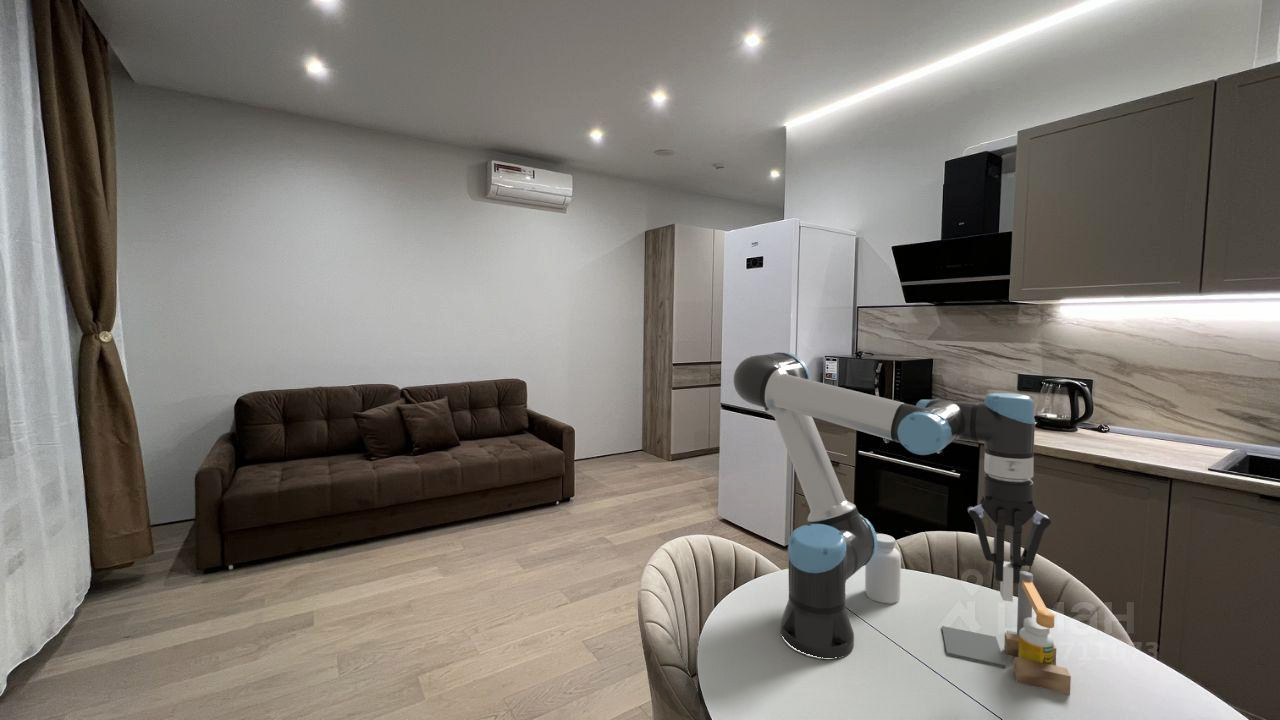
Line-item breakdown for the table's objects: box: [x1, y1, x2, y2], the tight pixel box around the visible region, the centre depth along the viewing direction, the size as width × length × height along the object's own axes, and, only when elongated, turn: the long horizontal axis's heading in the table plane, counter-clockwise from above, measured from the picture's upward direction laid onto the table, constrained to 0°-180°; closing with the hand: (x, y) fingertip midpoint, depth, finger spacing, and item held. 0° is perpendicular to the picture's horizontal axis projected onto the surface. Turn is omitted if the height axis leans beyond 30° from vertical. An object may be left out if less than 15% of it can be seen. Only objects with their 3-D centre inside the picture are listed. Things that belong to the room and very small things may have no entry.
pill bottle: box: [864, 533, 902, 604], centre depth 127 cm, size 8×8×15 cm
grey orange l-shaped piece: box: [1016, 570, 1056, 635], centre depth 101 cm, size 3×17×14 cm, turn 155°
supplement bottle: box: [1017, 617, 1055, 665], centre depth 100 cm, size 5×5×10 cm
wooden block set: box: [1003, 629, 1072, 695], centre depth 103 cm, size 8×17×4 cm, turn 155°
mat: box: [941, 625, 1007, 669], centre depth 107 cm, size 10×10×1 cm
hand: (1006, 597), depth 98 cm, fingers closed
